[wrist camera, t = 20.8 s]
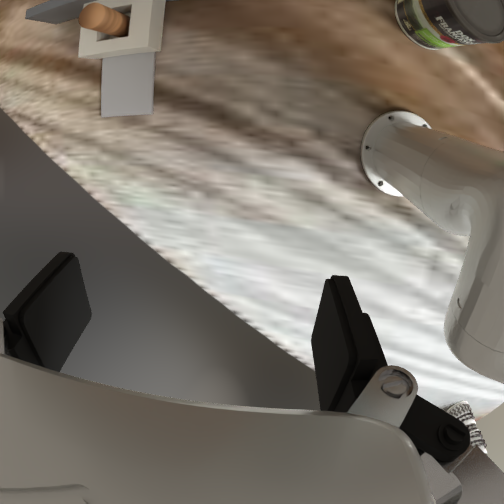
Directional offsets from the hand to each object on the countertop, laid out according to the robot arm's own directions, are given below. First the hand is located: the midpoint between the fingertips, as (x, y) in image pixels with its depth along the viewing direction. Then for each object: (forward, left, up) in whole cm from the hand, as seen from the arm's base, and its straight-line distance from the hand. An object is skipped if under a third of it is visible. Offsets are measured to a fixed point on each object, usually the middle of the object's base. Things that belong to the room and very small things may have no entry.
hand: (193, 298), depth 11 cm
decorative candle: (-70, +66, -34) cm, 102 cm away
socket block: (+17, -17, -32) cm, 41 cm away
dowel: (+17, -17, -32) cm, 40 cm away
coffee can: (-24, -24, -34) cm, 48 cm away
